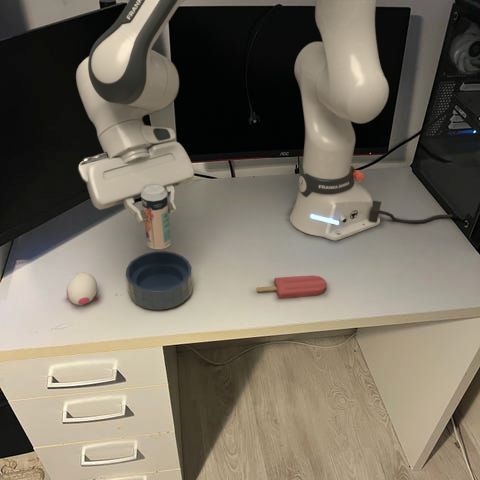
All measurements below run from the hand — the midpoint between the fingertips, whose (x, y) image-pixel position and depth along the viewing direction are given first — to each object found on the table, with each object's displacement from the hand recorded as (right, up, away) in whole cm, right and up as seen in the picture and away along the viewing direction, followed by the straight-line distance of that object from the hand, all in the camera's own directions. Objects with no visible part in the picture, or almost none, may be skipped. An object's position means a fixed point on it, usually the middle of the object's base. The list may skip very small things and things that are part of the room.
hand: (158, 216), depth 96 cm
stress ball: (-17, -15, +10) cm, 25 cm away
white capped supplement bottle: (-1, -5, +5) cm, 7 cm away
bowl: (-1, -13, +12) cm, 18 cm away
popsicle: (+26, -13, +14) cm, 32 cm away
